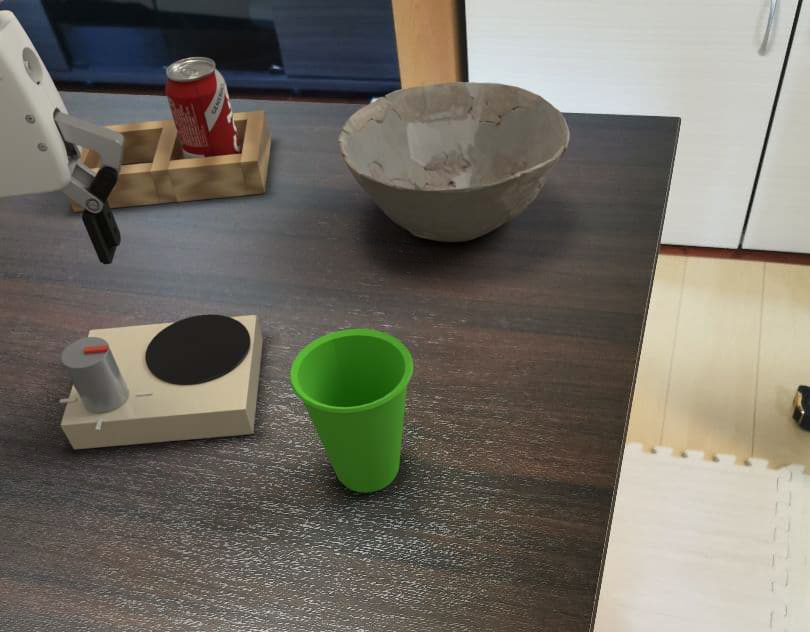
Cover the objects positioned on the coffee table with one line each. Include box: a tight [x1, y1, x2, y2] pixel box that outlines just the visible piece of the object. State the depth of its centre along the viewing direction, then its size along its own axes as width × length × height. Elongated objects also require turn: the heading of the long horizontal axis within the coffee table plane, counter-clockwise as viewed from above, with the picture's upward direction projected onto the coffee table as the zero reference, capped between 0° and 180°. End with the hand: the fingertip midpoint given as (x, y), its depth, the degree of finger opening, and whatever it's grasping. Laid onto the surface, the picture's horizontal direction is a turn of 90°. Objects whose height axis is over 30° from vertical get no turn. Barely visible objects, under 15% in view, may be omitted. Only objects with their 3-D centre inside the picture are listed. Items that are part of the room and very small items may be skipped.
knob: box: [60, 336, 129, 413], centre depth 71 cm, size 4×4×5 cm
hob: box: [59, 314, 264, 450], centre depth 76 cm, size 17×14×3 cm
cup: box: [289, 328, 414, 494], centre depth 65 cm, size 9×9×11 cm
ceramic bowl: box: [337, 81, 571, 243], centre depth 88 cm, size 22×23×10 cm
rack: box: [67, 109, 272, 213], centre depth 101 cm, size 23×12×4 cm, turn 92°
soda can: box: [164, 56, 242, 159], centre depth 98 cm, size 7×7×12 cm
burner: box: [145, 314, 251, 385], centre depth 76 cm, size 10×10×1 cm
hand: (47, 260), depth 63 cm, fingers open, 9 cm apart
